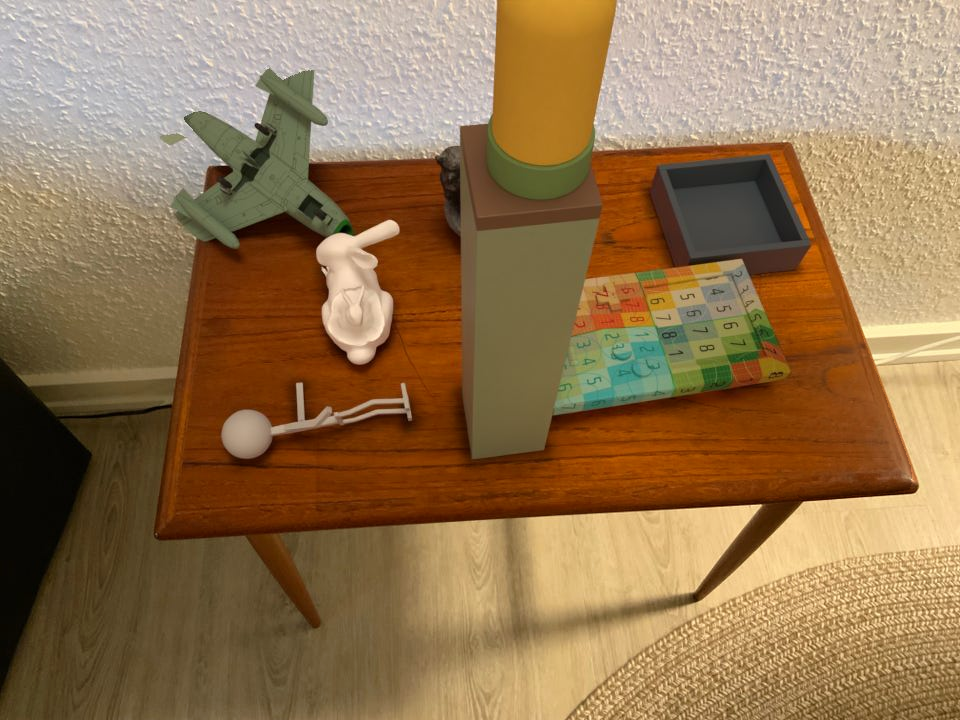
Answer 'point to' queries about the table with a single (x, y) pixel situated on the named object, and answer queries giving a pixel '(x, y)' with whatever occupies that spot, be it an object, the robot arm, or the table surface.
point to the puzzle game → (667, 337)
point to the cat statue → (451, 185)
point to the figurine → (292, 424)
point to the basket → (729, 214)
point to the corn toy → (546, 93)
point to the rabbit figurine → (356, 292)
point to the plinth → (517, 300)
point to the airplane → (261, 168)
